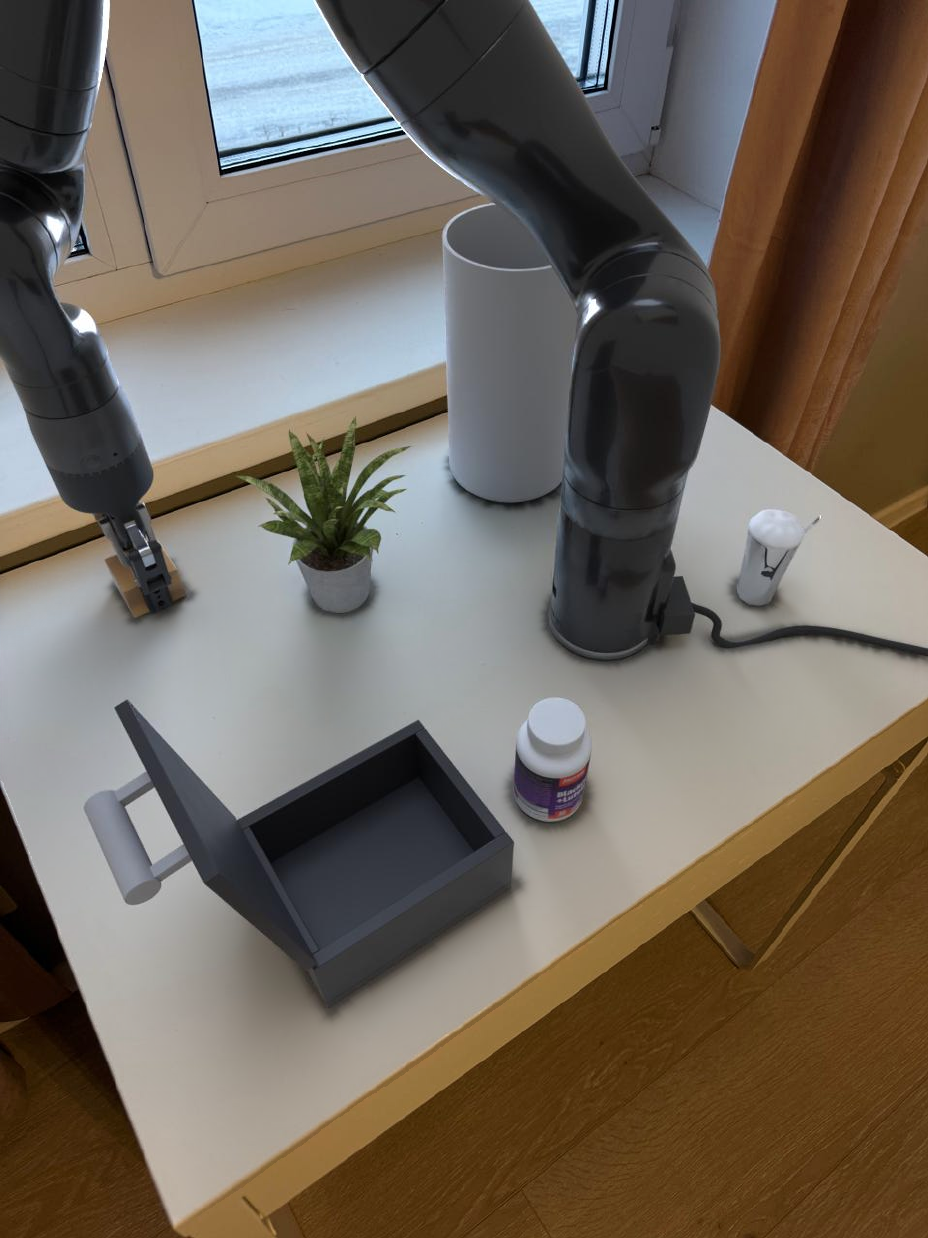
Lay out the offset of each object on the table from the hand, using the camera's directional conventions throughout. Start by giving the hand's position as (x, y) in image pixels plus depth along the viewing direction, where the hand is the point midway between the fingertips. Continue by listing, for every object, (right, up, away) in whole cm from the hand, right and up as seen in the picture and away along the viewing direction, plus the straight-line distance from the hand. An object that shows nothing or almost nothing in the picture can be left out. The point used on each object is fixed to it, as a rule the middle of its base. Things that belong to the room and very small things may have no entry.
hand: (149, 587), depth 83 cm
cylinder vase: (+34, +13, +12) cm, 38 cm away
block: (0, 0, 0) cm, 0 cm away
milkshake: (+56, -1, -1) cm, 56 cm away
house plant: (+19, -1, 0) cm, 19 cm away
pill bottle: (+36, -16, -14) cm, 42 cm away
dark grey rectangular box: (+23, -22, -19) cm, 37 cm away
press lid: (+16, -15, -33) cm, 40 cm away
